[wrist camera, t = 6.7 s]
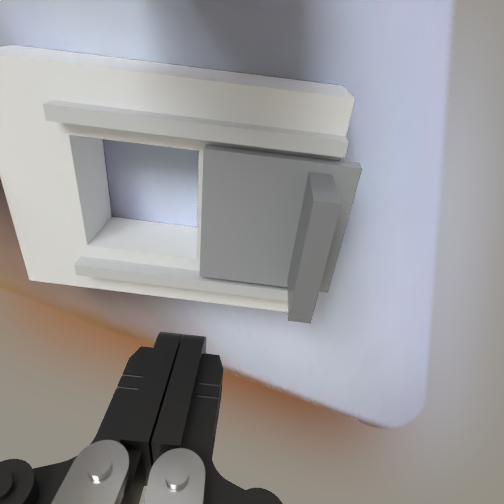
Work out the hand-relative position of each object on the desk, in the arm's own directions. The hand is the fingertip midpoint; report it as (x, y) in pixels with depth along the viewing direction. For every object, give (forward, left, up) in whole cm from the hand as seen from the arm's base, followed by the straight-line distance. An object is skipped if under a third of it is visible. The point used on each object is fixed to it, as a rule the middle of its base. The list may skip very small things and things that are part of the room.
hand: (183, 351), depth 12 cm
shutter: (0, +3, -11) cm, 11 cm away
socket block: (0, -4, -15) cm, 15 cm away
